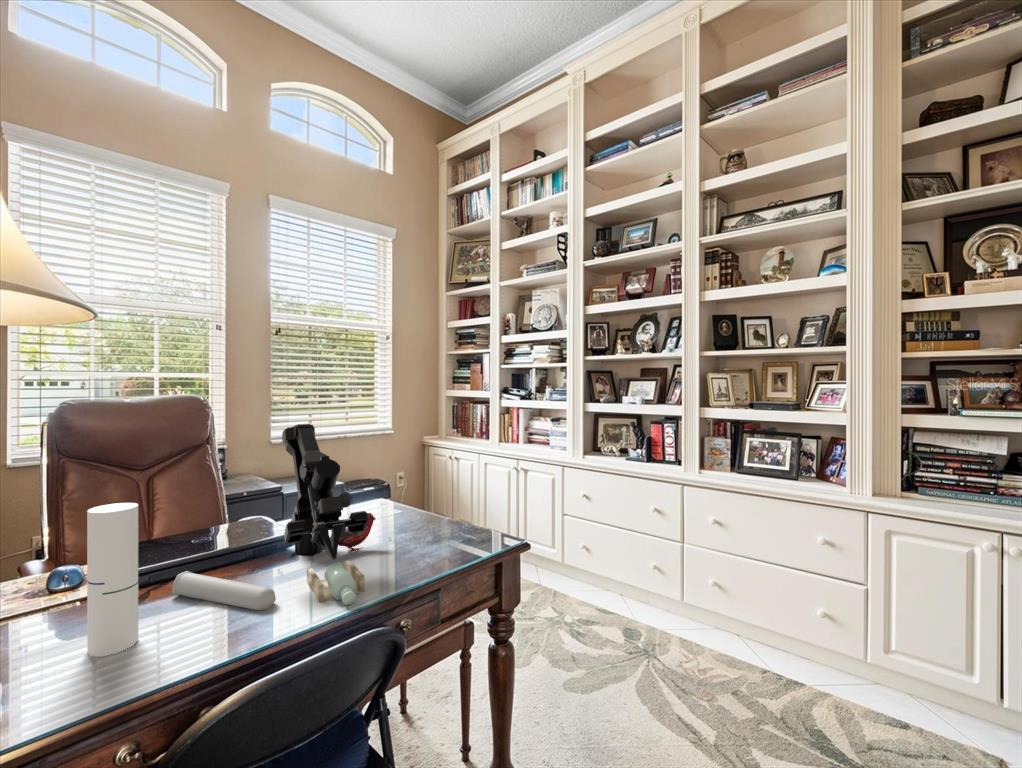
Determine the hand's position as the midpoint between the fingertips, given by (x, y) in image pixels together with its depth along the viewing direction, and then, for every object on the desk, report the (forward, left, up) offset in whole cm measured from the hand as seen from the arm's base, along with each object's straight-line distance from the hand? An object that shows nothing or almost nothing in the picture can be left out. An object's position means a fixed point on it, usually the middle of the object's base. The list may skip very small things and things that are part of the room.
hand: (334, 558), depth 114 cm
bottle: (+1, -1, -3) cm, 3 cm away
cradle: (0, 0, -7) cm, 7 cm away
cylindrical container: (-26, -30, -7) cm, 40 cm away
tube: (-19, -11, -7) cm, 23 cm away
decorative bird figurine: (-9, +22, -7) cm, 24 cm away
